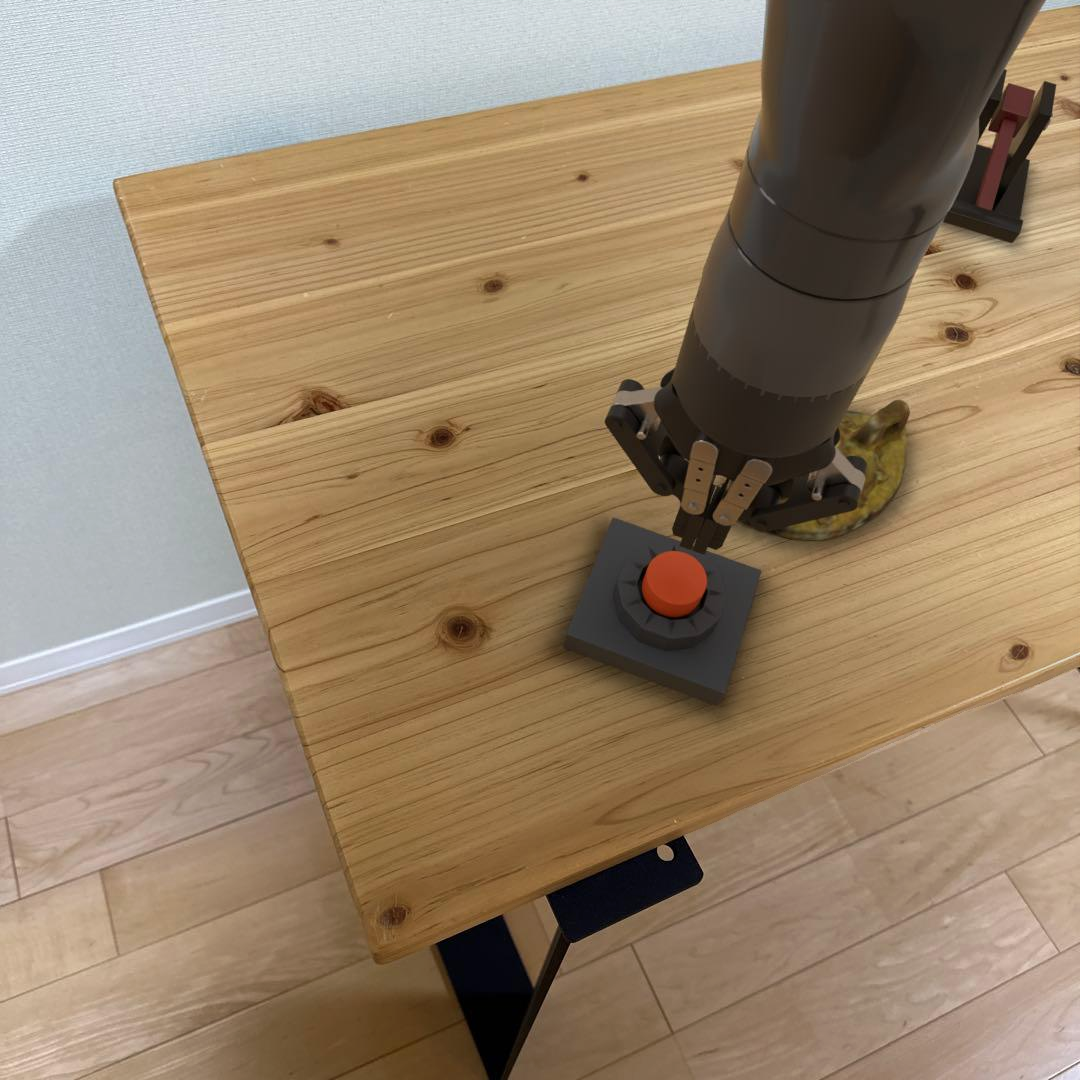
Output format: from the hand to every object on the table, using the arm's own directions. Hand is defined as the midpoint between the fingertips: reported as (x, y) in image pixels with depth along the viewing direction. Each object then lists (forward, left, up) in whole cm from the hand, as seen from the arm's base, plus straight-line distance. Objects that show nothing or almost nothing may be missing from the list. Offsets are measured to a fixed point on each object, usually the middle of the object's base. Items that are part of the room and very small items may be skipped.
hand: (696, 537), depth 54 cm
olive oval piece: (-7, -15, -10) cm, 19 cm away
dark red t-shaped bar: (-13, -45, -4) cm, 47 cm away
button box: (0, 0, -10) cm, 10 cm away
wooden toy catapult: (-13, -50, -10) cm, 52 cm away
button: (0, 0, -6) cm, 6 cm away
